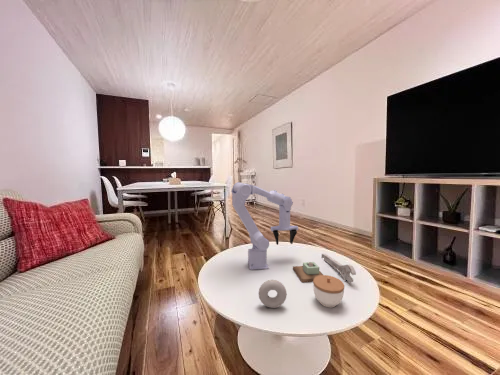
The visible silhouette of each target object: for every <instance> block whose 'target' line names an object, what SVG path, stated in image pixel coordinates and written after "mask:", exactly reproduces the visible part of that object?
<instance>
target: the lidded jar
mask: <svg viewBox="0 0 500 375" xmlns="http://www.w3.org/2000/svg"><path fill="white" fill-rule="evenodd" d="M312 283H313V286H312V287H313V294H314V296H315V298H316V300H317V301H318V302H319V303H320V304H321V305H322V306H323V307H326V308H335V307H336V306H339V304H340V303H341V302H342V300H343V299H344V292H345V284H344V282H343V281H342V280H341V279H339V278H337V277H335V276H331V275H327V274H326V275H325V274H323V275H320V276H316V277H315V278H314V279H313V282H312Z"/></svg>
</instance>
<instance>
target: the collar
mask: <svg viewBox="0 0 500 375" xmlns="http://www.w3.org/2000/svg"><path fill="white" fill-rule="evenodd" d="M309 262H311V263H313V267H309ZM302 266H303V270H304V271H305V272H306V273H307V275H308V274H319V271H320V266H318V264H317V263H316V262H315V261H308V262H306V261H305V262H302Z"/></svg>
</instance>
